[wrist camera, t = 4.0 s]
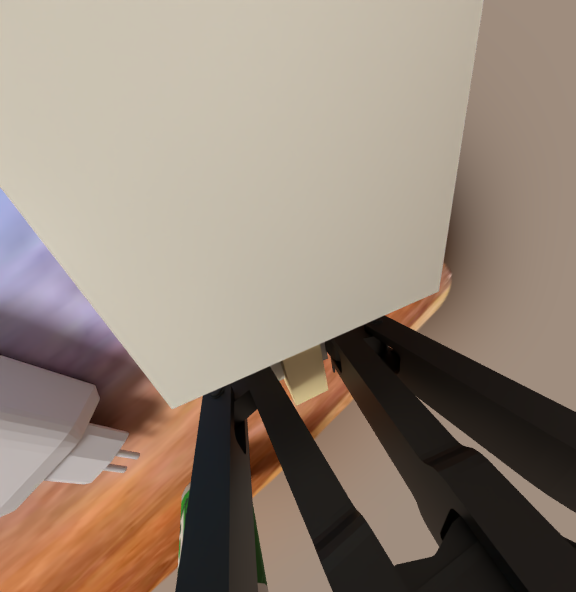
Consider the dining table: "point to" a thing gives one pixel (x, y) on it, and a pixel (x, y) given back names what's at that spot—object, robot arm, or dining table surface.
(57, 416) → the charger
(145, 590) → the dining table surface
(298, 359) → the pale yellow flat block
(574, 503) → the robot arm
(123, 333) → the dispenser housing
